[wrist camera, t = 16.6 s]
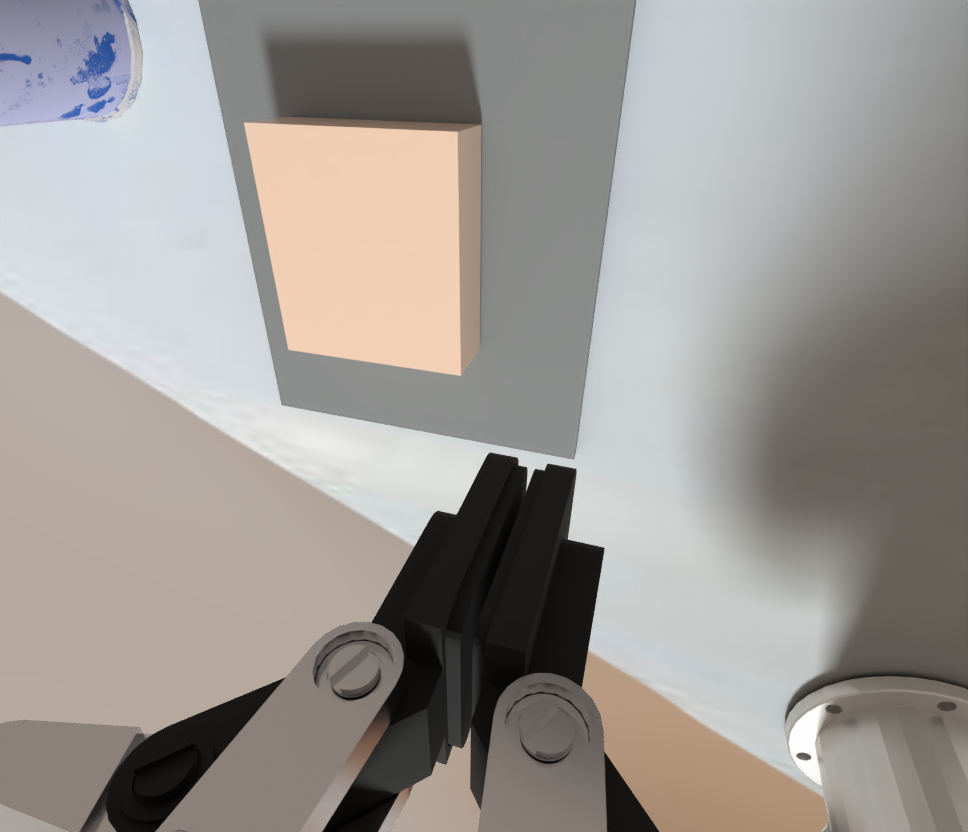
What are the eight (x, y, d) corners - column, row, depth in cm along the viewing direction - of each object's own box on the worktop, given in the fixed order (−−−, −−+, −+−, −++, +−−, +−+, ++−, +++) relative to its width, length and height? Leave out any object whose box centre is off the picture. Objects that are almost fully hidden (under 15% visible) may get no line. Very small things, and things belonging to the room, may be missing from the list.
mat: (575, 453, 31) (573, 459, 30) (287, 400, 35) (281, 405, 34) (646, -75, 19) (645, -79, 18) (195, -60, 23) (185, -63, 22)
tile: (460, 375, 26) (288, 349, 28) (481, 346, 28) (322, 324, 30) (457, 131, 20) (243, 122, 22) (483, 123, 23) (289, 116, 25)
